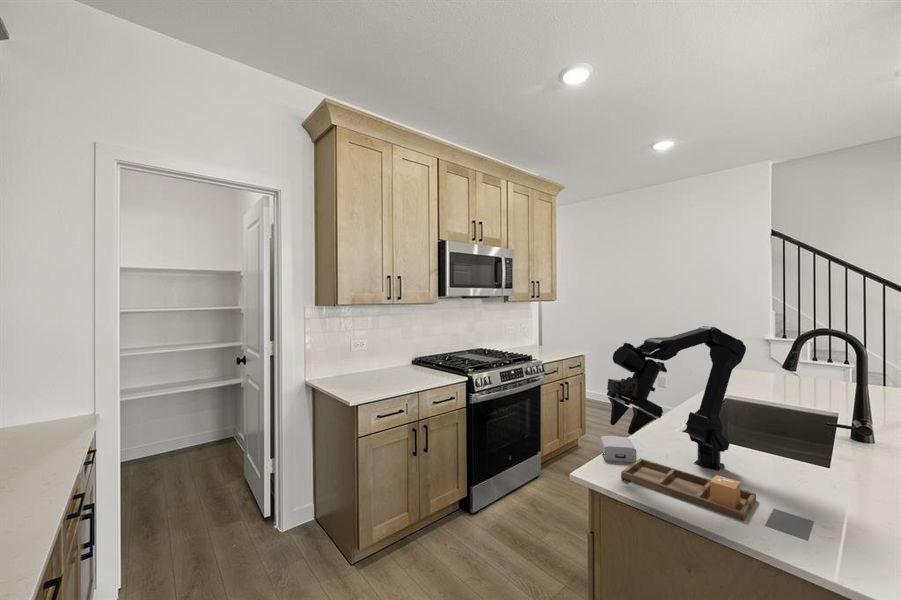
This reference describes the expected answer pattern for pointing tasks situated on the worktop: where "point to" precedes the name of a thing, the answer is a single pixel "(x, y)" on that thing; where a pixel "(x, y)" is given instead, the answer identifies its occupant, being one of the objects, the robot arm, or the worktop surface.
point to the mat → (790, 524)
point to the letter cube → (725, 491)
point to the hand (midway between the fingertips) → (620, 429)
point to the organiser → (684, 487)
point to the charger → (617, 448)
